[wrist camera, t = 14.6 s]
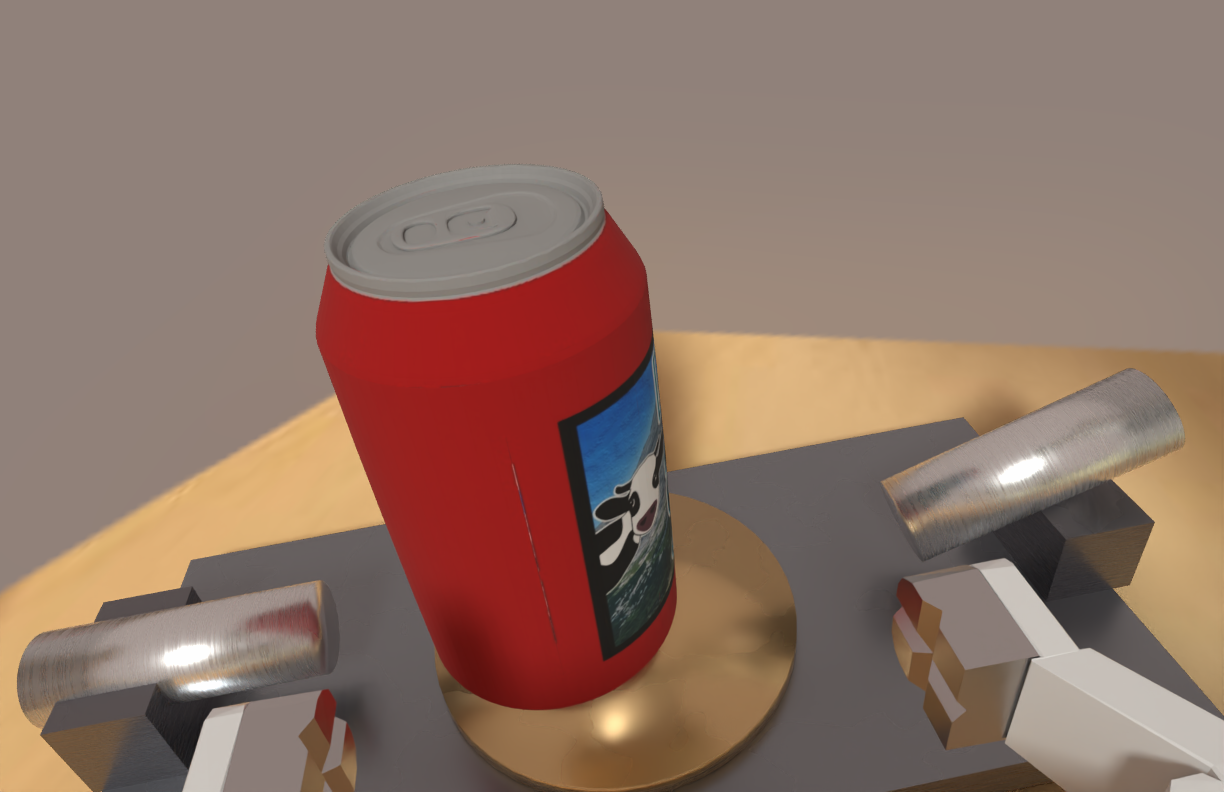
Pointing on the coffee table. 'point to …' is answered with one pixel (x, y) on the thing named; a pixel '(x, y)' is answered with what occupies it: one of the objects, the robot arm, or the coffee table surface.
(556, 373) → the beverage can
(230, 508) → the coffee table surface
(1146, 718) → the robot arm
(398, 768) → the shaft bed
